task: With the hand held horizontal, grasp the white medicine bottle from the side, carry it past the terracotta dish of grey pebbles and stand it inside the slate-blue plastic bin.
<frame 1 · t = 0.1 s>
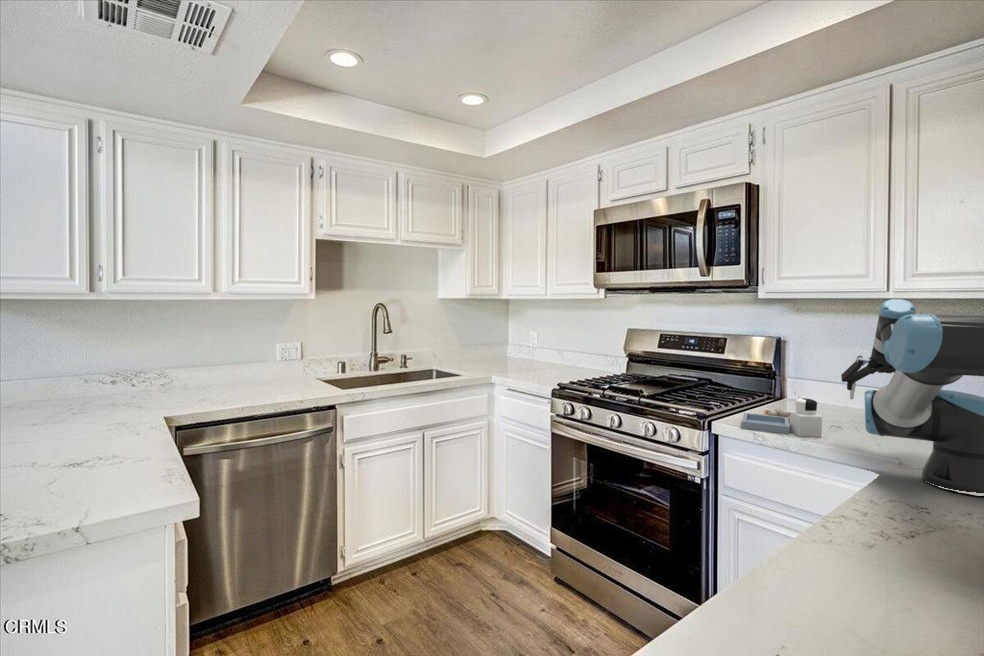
hand: (878, 398, 157), 15 cm above the worktop, tool tilted 35°, fingers open, 13 cm apart
pebble 1: (778, 412, 193), point 2 cm above the worktop, touching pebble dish
coffee box: (923, 425, 182), on the worktop
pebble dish: (777, 419, 191), on the worktop
pebble 3: (783, 415, 189), point 2 cm above the worktop, touching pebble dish
grey bin: (765, 426, 181), on the worktop
pebble 2: (772, 414, 190), point 2 cm above the worktop, touching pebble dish
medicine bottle: (804, 434, 171), on the worktop
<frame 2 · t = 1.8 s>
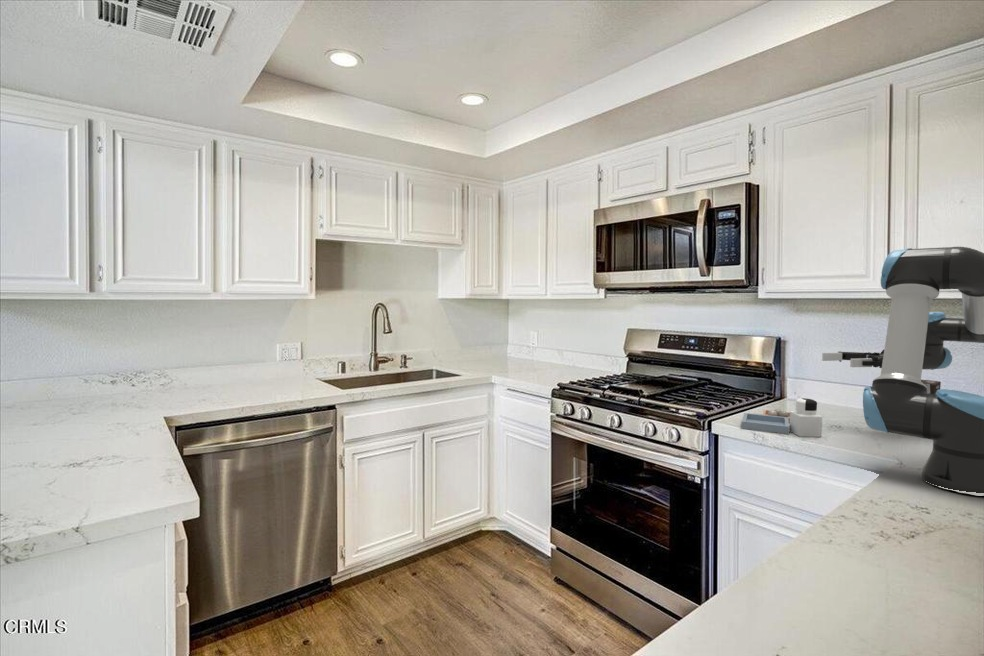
hand: (836, 359, 169), 25 cm above the worktop, tool horizontal, fingers open, 13 cm apart
nothing on the worktop moved.
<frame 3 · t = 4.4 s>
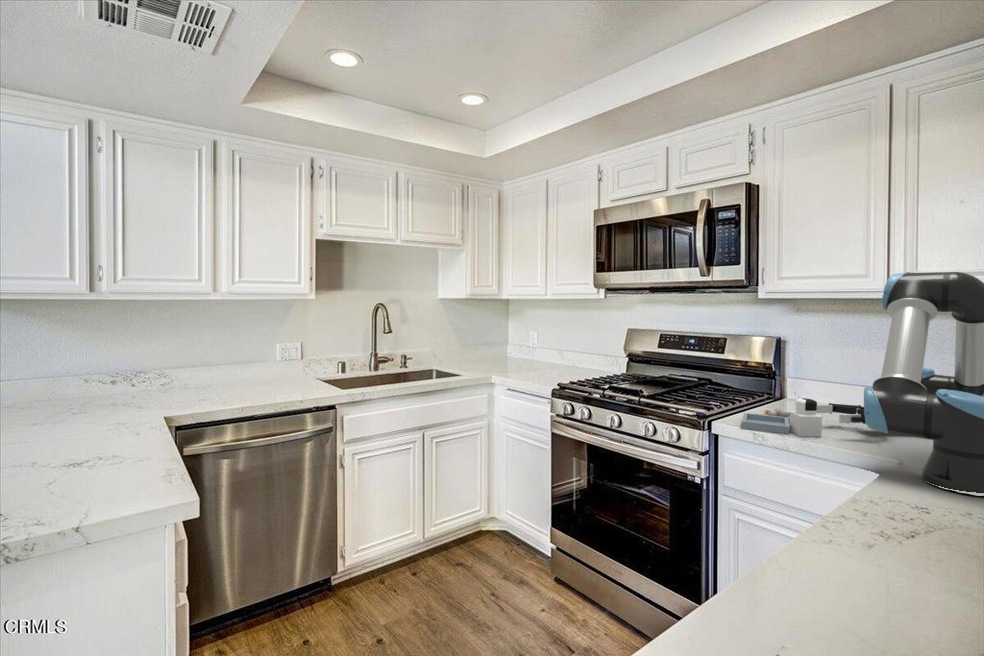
hand: (826, 413, 171), 7 cm above the worktop, tool horizontal, fingers open, 13 cm apart
nothing on the worktop moved.
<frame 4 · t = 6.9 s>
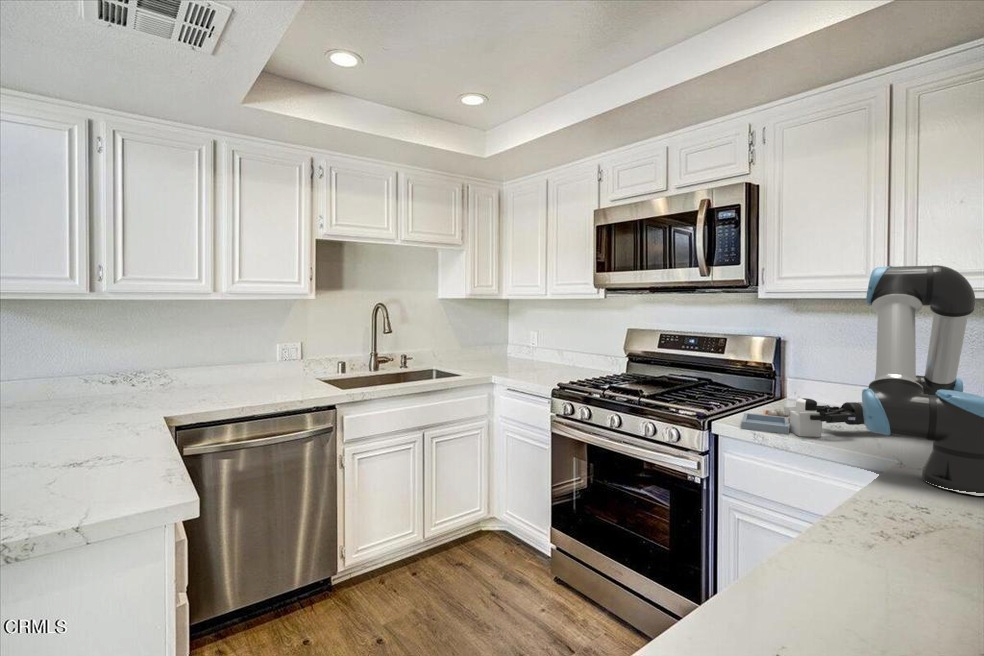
hand: (791, 413, 171), 7 cm above the worktop, tool horizontal, fingers closed on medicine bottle, 8 cm apart
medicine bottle: (804, 434, 171), on the worktop, touching gripper
everything else where it was.
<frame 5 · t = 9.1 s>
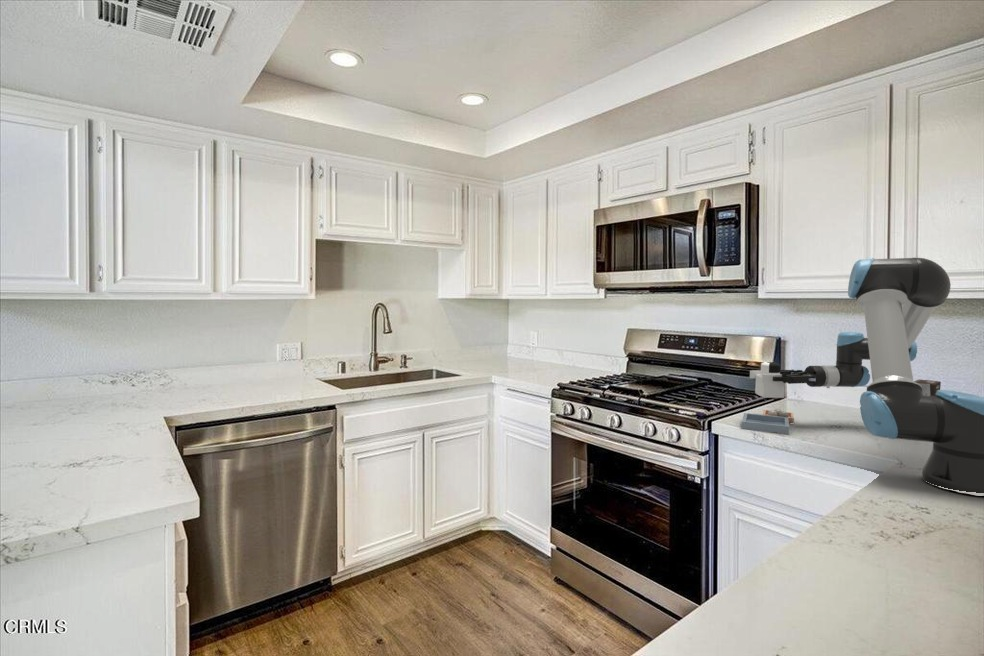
hand: (756, 376, 179), 18 cm above the worktop, tool horizontal, fingers closed on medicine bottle, 8 cm apart
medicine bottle: (769, 396, 180), point 11 cm above the worktop, touching gripper
everything else where it was.
when the fingers open (9 cm above the worktop, at t = 11.2 s): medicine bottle drops 1 cm, resting on grey bin.
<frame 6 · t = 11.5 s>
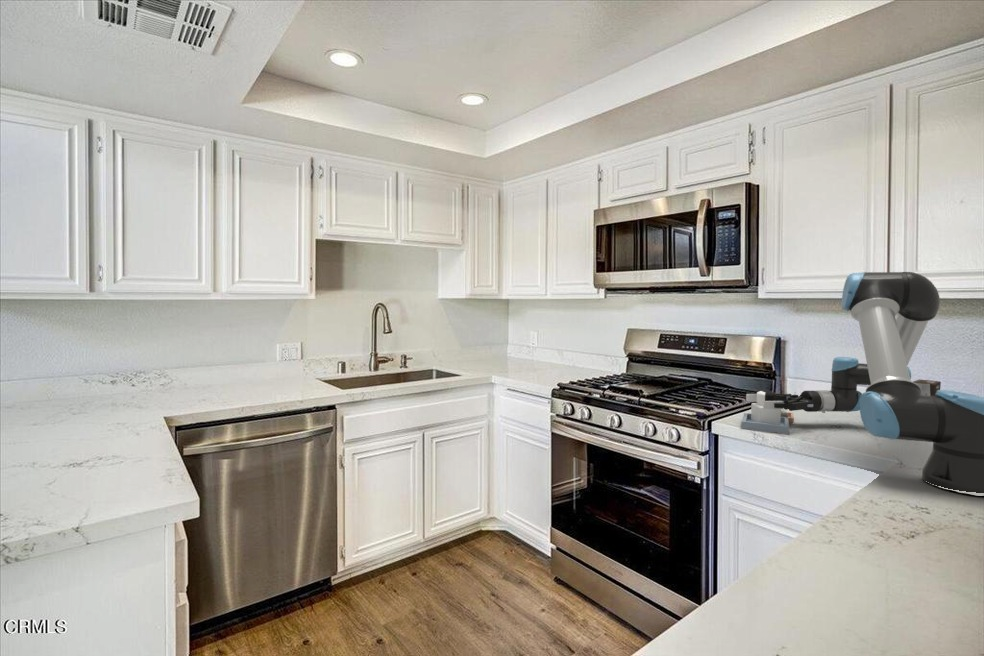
hand: (755, 401, 180), 9 cm above the worktop, tool horizontal, fingers open, 11 cm apart
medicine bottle: (765, 425, 181), resting on grey bin
everything else where it was.
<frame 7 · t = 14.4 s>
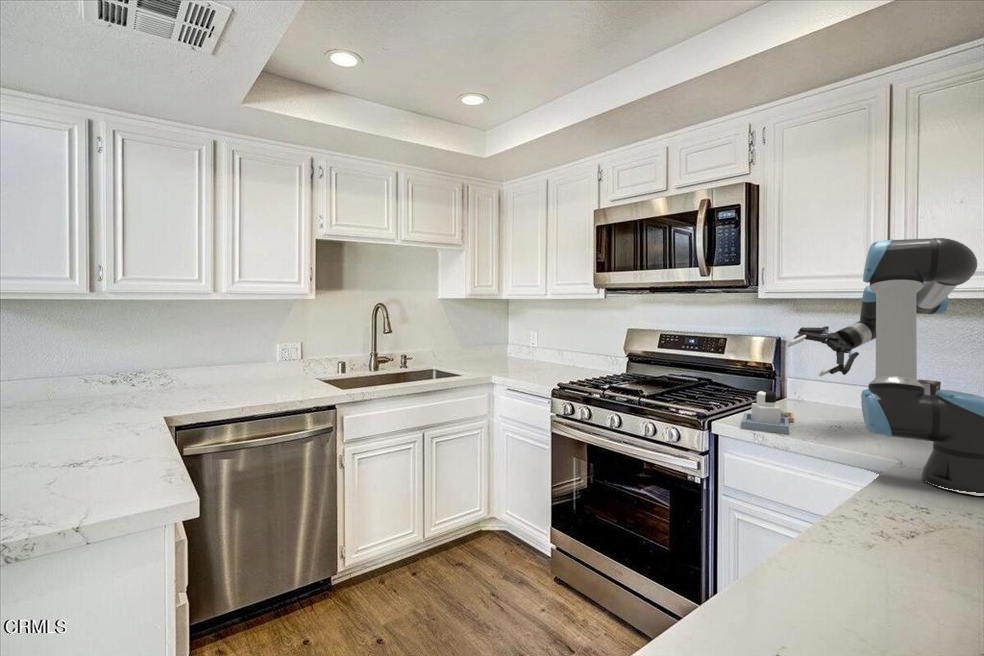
hand: (804, 358, 169), 26 cm above the worktop, tool tilted 70°, fingers open, 13 cm apart
nothing on the worktop moved.
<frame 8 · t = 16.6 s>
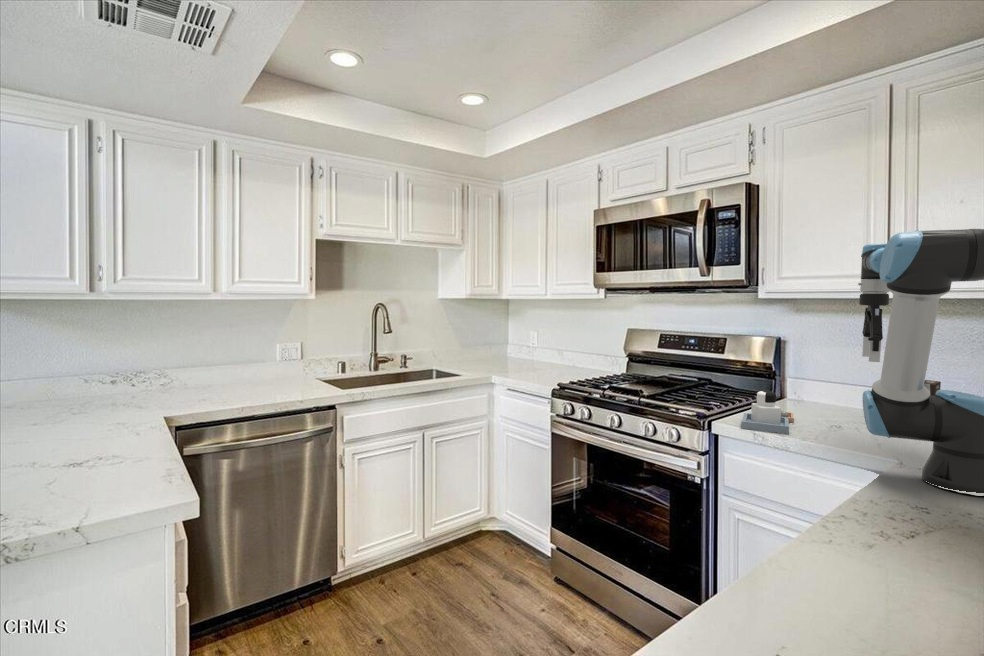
hand: (870, 359, 162), 27 cm above the worktop, tool pointing down, fingers open, 13 cm apart
nothing on the worktop moved.
at the end: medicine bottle inside the target area on the grey bin (0.0 cm from its centre), point 0.4 cm above the grey bin's base; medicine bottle tilted 0°; the gripper is holding nothing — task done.
